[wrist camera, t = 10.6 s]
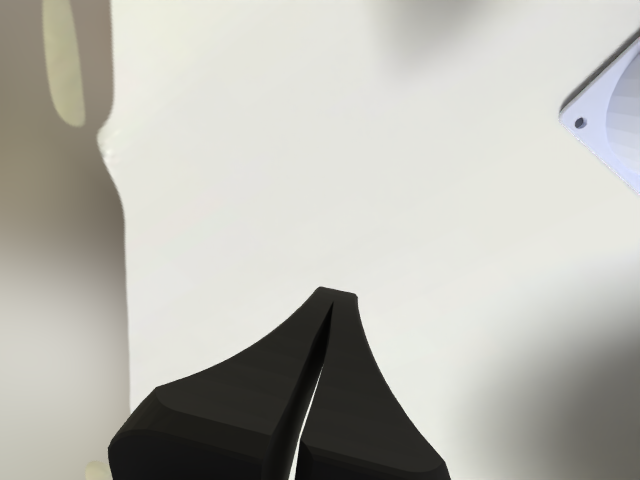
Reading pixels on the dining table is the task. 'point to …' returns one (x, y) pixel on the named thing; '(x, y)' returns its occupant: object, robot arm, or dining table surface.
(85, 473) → the dining table surface
